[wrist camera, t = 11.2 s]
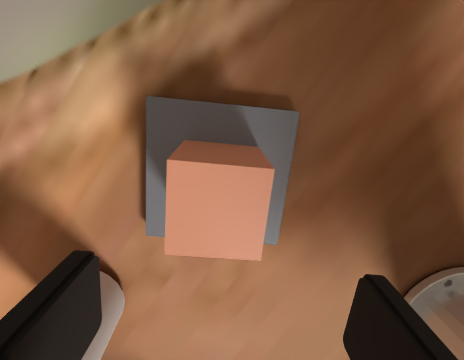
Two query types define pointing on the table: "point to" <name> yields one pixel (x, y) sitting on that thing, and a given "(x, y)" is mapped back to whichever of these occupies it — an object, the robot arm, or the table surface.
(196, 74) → the table surface
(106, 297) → the can
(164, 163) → the post base
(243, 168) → the salmon pink cube
